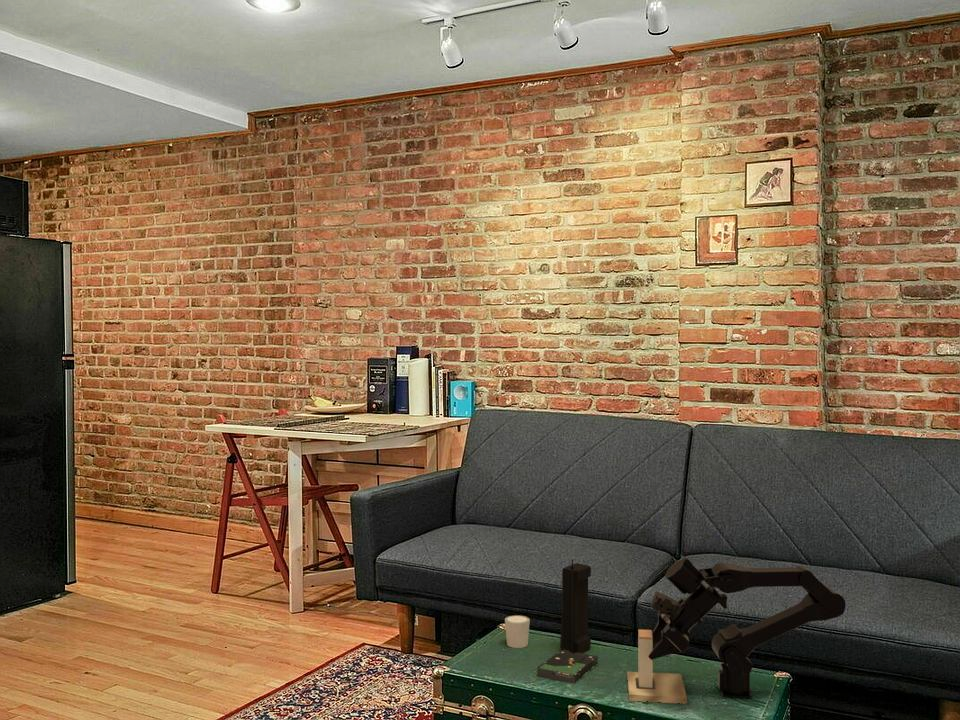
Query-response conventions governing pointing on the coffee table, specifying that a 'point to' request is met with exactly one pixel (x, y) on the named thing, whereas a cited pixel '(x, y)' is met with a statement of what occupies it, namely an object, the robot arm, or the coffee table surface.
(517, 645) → the white cup
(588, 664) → the disk drive
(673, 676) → the header board
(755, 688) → the coffee table surface
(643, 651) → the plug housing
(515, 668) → the coffee table surface
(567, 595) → the dark tower with antenna
